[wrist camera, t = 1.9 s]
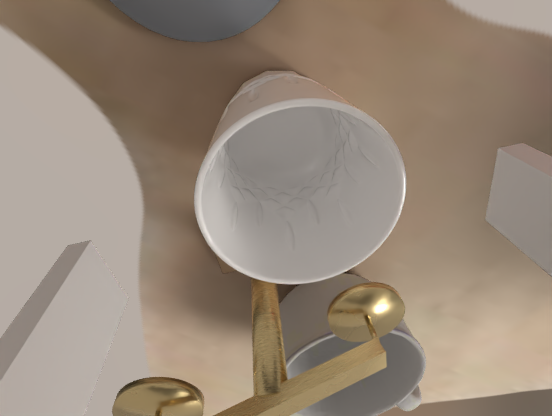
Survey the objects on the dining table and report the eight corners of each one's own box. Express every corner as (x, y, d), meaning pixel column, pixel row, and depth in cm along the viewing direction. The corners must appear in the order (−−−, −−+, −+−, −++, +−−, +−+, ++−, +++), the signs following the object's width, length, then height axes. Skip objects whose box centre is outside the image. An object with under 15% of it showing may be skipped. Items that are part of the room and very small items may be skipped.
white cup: (345, 167, 22) (406, 262, 14) (235, 192, 23) (229, 301, 14) (331, 43, 18) (407, 71, 10) (197, 76, 19) (158, 131, 10)
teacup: (242, 299, 28) (242, 390, 22) (344, 230, 25) (381, 310, 18) (331, 364, 35) (353, 451, 28) (422, 315, 31) (471, 399, 25)
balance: (352, 192, 23) (469, 391, 11) (355, 235, 26) (458, 442, 13) (158, 234, 24) (68, 467, 12) (178, 273, 26) (119, 505, 14)
